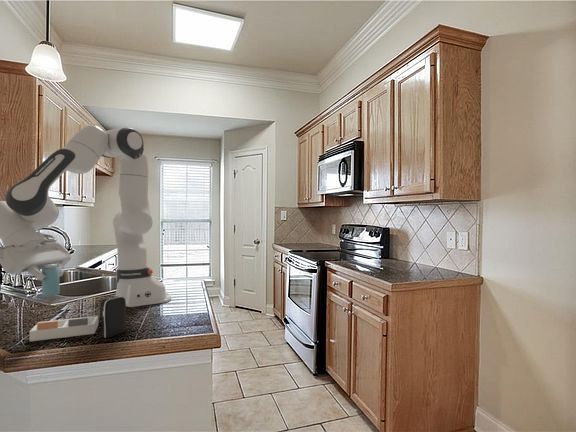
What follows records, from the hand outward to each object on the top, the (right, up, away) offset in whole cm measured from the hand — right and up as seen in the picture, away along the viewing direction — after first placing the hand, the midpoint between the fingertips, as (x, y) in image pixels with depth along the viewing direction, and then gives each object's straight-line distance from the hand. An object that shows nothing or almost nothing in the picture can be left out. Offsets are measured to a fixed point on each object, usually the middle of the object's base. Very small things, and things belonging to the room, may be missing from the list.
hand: (52, 276), depth 104 cm
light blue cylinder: (-1, -5, 0) cm, 5 cm away
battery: (+18, -18, 0) cm, 26 cm away
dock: (+3, -18, +2) cm, 18 cm away
